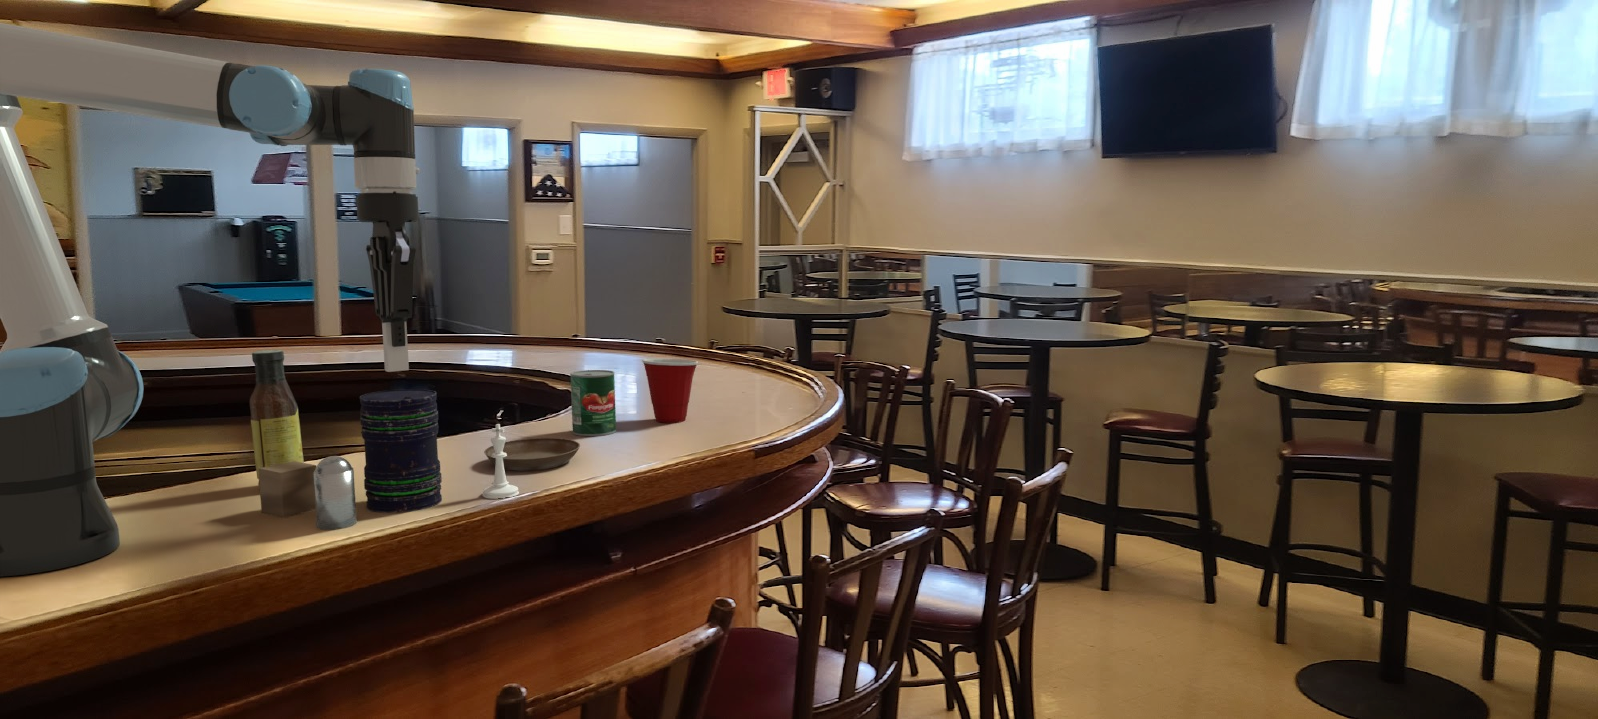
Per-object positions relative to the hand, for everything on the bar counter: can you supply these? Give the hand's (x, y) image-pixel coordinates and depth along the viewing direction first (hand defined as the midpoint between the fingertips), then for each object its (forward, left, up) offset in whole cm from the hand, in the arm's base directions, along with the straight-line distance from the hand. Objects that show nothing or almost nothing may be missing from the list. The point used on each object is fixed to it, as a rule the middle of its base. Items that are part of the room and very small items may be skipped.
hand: (396, 370), depth 139 cm
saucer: (+24, +12, -19) cm, 33 cm away
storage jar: (0, 0, -19) cm, 19 cm away
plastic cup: (+60, +29, -19) cm, 69 cm away
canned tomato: (+43, +28, -19) cm, 55 cm away
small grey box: (-13, +6, -18) cm, 23 cm away
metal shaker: (-10, -5, -18) cm, 21 cm away
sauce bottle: (-11, +21, -19) cm, 30 cm away
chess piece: (+12, -4, -19) cm, 22 cm away
